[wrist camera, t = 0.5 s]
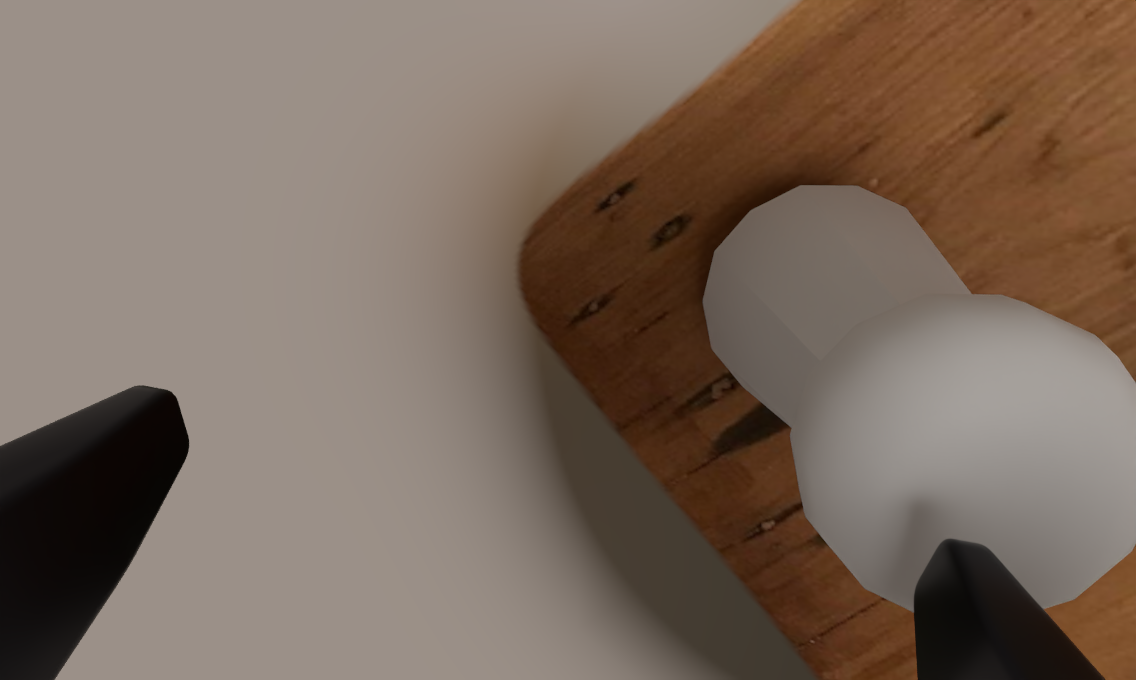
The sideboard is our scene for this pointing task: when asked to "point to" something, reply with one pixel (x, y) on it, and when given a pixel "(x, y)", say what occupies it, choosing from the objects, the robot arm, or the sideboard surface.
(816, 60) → the sideboard surface
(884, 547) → the salt shaker
